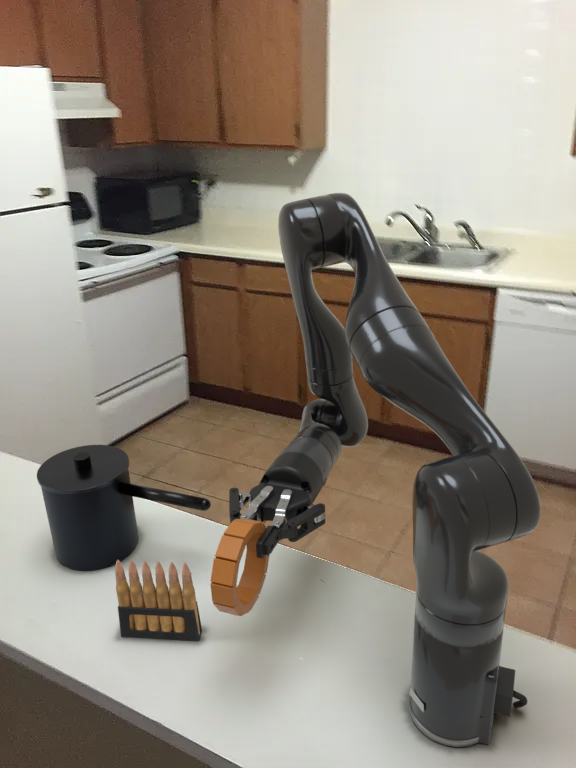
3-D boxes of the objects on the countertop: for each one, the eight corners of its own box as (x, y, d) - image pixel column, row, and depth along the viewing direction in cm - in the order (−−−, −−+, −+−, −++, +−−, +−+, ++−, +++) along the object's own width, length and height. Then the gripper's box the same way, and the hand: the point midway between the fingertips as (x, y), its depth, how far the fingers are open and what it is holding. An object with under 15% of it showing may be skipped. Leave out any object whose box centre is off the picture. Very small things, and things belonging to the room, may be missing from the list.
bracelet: (271, 576, 83) (267, 505, 79) (236, 635, 74) (229, 559, 70) (252, 571, 84) (247, 501, 79) (215, 629, 75) (206, 554, 71)
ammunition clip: (202, 630, 90) (194, 558, 85) (199, 641, 88) (190, 567, 83) (125, 626, 91) (113, 555, 86) (120, 636, 89) (107, 564, 84)
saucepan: (235, 545, 106) (228, 456, 100) (194, 602, 95) (183, 505, 88) (88, 513, 116) (73, 429, 109) (35, 561, 104) (14, 471, 98)
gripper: (250, 443, 93) (190, 511, 78) (346, 458, 88) (302, 534, 73) (253, 489, 96) (196, 563, 81) (346, 506, 91) (303, 588, 76)
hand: (246, 548), depth 77 cm, fingers closed on bracelet, 2 cm apart
